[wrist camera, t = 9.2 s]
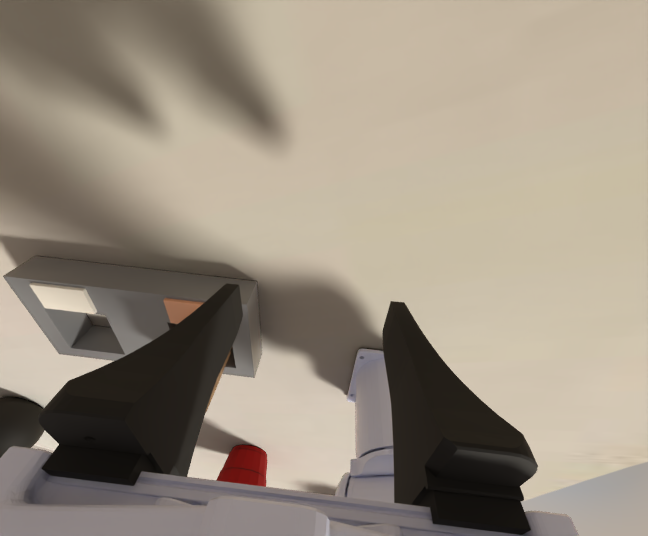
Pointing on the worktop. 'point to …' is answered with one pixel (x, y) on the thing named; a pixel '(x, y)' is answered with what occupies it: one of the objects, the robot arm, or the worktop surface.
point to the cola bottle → (18, 423)
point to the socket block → (126, 307)
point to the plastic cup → (245, 466)
